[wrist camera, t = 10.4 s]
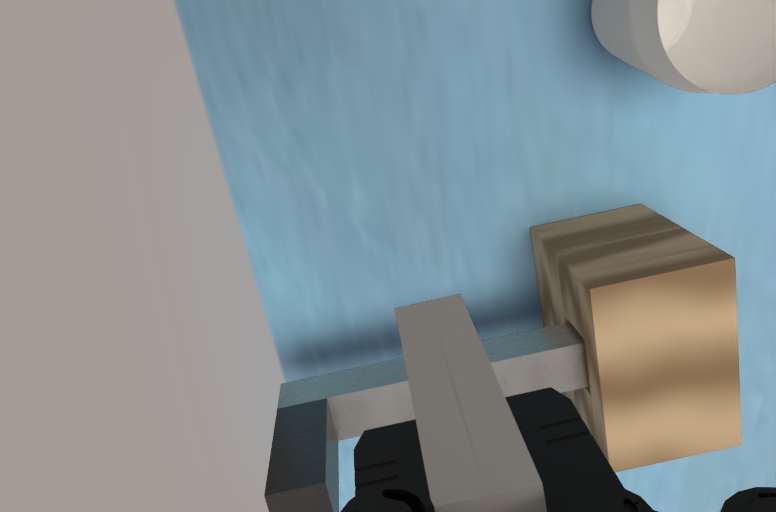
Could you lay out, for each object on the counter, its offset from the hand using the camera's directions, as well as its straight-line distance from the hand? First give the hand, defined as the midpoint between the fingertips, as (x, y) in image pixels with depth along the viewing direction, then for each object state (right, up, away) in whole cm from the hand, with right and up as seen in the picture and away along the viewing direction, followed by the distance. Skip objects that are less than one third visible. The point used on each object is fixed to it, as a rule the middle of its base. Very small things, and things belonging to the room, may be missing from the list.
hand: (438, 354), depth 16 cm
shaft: (+5, -5, +29) cm, 29 cm away
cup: (+15, +18, +29) cm, 37 cm away
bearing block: (+14, 0, +35) cm, 37 cm away
